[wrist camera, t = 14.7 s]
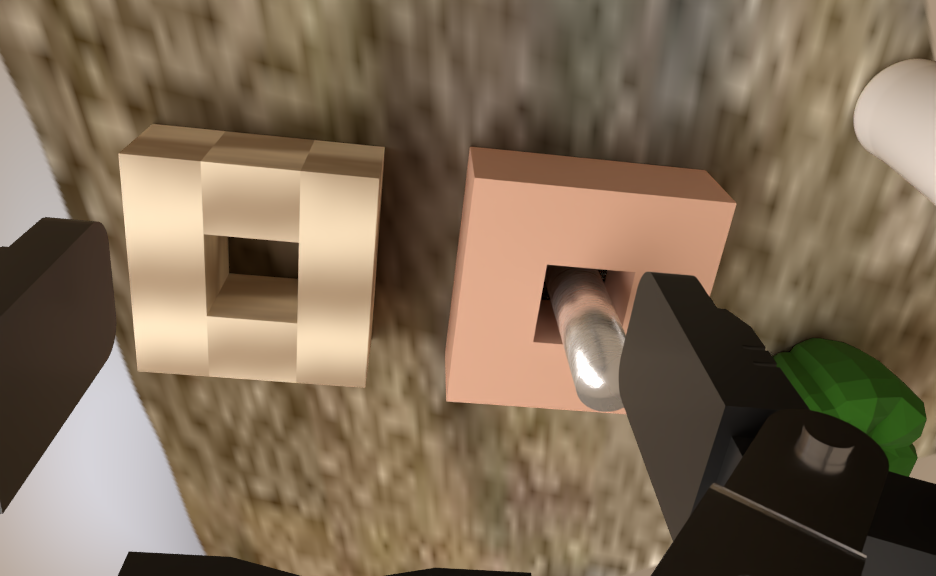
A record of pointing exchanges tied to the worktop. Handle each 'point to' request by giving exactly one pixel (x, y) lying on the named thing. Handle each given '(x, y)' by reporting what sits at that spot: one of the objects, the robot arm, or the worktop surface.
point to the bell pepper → (858, 395)
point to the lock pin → (588, 334)
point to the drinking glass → (902, 121)
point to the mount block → (258, 217)
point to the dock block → (563, 260)
